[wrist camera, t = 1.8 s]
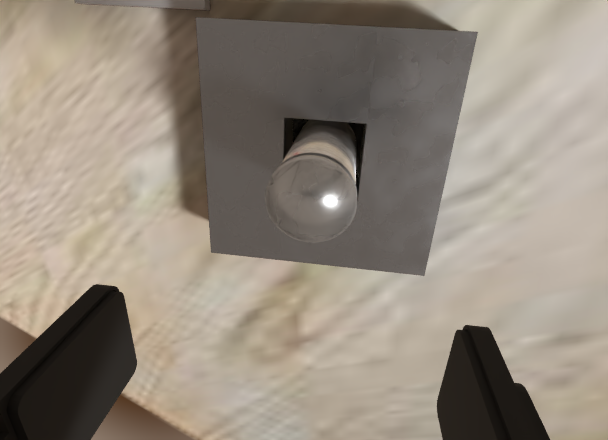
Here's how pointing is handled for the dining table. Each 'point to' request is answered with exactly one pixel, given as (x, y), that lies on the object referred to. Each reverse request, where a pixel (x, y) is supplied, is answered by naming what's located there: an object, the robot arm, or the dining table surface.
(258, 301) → the dining table surface
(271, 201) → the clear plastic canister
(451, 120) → the housing
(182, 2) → the mat
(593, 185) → the dining table surface
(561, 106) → the dining table surface
